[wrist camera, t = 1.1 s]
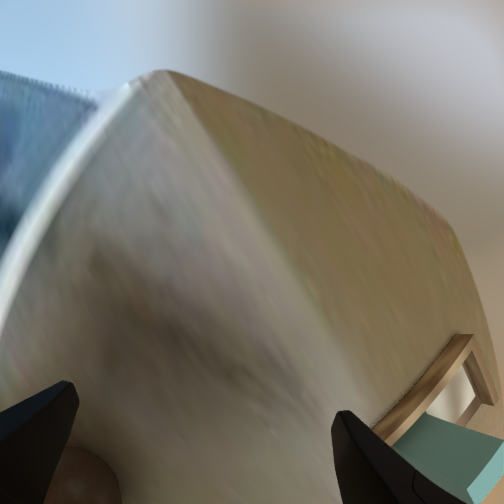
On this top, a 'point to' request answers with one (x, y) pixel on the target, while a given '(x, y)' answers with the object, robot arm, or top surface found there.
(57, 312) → the top surface
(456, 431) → the block
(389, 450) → the robot arm
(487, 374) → the arena
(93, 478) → the plant pot
